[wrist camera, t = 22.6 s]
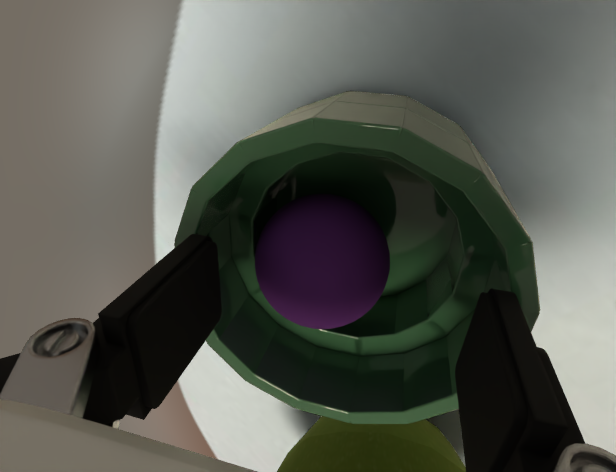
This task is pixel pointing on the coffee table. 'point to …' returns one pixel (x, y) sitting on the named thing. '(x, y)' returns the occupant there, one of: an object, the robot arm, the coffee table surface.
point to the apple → (372, 449)
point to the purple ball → (322, 261)
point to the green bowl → (402, 247)
